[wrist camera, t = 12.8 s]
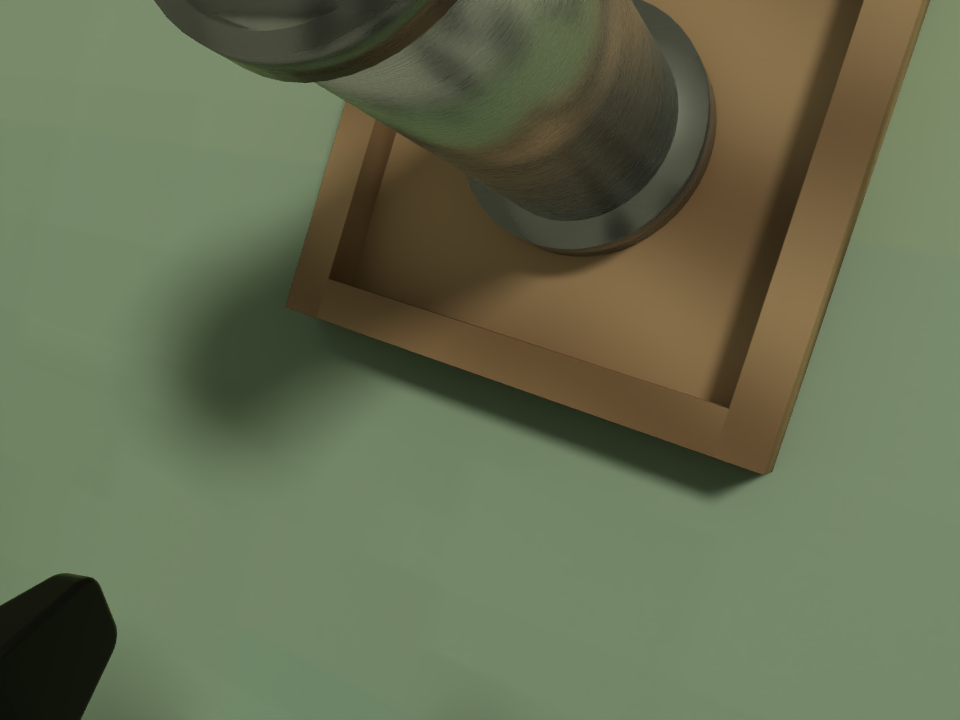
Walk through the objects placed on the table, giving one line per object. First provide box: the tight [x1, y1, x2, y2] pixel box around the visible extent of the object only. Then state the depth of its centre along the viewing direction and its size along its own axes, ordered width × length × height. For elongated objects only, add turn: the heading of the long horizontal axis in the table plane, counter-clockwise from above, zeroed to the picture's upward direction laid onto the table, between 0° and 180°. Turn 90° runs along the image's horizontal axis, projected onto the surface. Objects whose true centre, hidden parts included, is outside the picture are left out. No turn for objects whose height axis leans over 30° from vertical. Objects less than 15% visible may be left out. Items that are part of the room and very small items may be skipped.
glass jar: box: [154, 0, 717, 257], centre depth 15 cm, size 6×6×11 cm
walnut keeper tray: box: [285, 0, 930, 475], centre depth 19 cm, size 12×12×1 cm
